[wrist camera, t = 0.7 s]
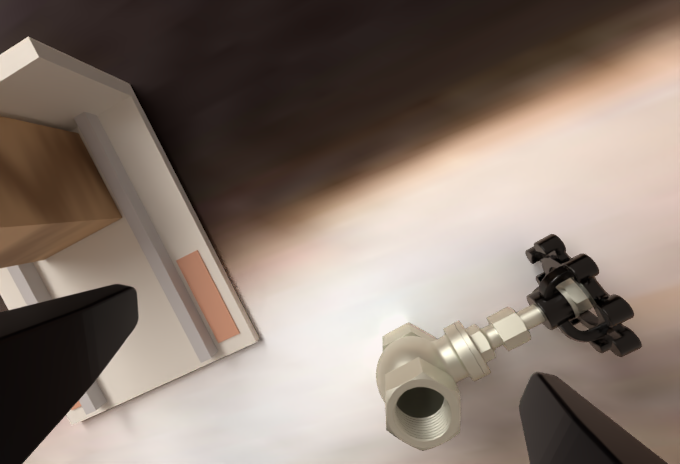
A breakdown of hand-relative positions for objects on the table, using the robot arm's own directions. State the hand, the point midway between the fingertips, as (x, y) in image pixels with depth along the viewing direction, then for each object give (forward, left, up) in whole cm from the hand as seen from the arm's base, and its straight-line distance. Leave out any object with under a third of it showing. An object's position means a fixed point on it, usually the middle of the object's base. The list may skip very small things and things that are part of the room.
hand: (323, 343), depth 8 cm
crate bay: (-9, +15, -14) cm, 22 cm away
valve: (-1, -8, -15) cm, 17 cm away
